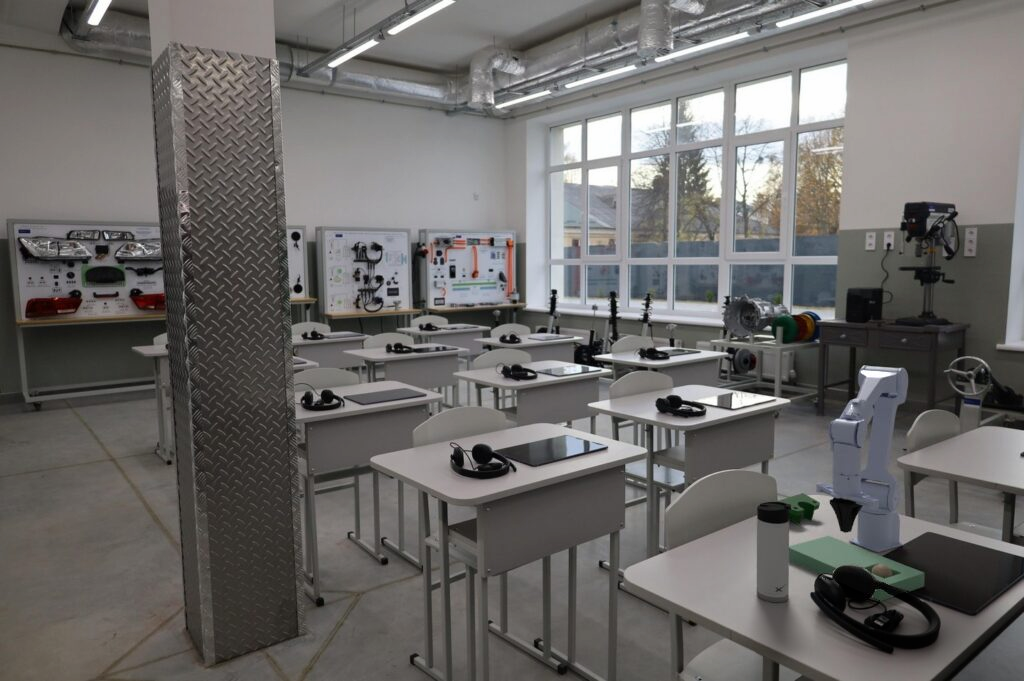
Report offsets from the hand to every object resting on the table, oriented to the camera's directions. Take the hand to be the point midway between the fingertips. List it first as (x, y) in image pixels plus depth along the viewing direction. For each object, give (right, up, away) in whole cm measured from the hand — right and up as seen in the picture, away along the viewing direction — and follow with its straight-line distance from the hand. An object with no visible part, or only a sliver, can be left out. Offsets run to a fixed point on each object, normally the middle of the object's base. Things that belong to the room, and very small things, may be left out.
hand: (845, 531), depth 153 cm
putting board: (+1, -9, -1) cm, 9 cm away
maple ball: (+4, -7, -7) cm, 11 cm away
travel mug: (-21, -11, -11) cm, 26 cm away
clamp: (+3, -6, +32) cm, 33 cm away
